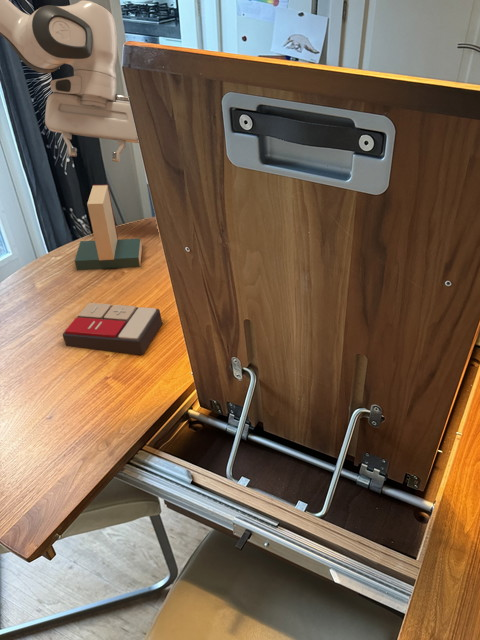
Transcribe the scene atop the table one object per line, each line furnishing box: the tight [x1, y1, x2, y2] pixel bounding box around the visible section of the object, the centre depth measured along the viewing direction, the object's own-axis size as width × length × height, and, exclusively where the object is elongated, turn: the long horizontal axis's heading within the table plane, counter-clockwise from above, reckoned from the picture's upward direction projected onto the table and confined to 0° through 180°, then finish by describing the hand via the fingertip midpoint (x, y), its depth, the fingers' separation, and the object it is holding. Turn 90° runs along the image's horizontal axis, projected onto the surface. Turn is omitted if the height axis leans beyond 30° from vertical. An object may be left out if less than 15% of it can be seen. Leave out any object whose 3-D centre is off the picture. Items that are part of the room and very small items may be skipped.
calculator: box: [62, 302, 163, 356], centre depth 98 cm, size 11×4×15 cm
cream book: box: [86, 184, 119, 260], centre depth 116 cm, size 3×11×13 cm, turn 9°
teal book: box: [74, 238, 143, 271], centre depth 121 cm, size 14×10×3 cm
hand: (94, 158), depth 116 cm, fingers open, 8 cm apart
